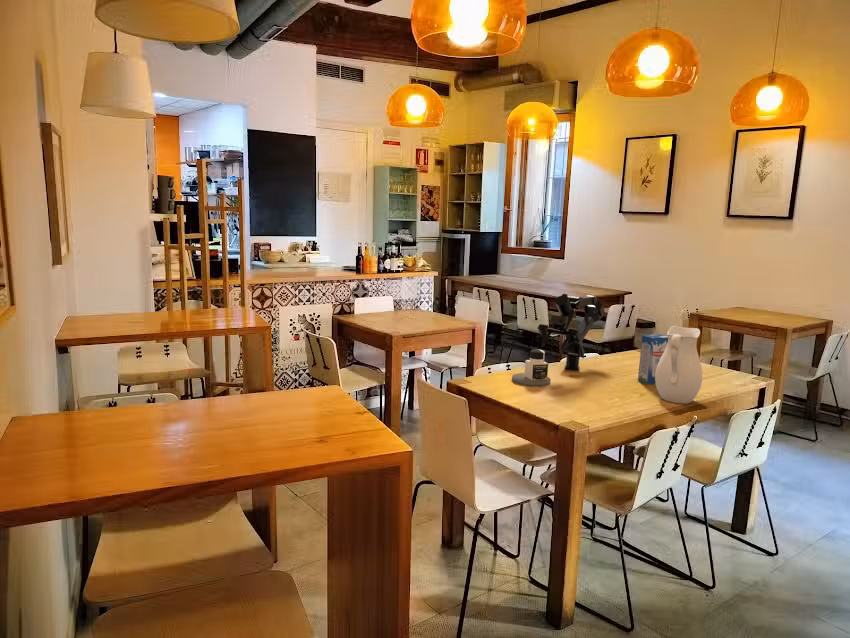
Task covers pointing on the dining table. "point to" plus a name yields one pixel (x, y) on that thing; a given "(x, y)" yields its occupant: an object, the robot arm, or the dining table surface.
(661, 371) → the pitcher
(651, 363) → the milk carton
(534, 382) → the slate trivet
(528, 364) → the medicine bottle
